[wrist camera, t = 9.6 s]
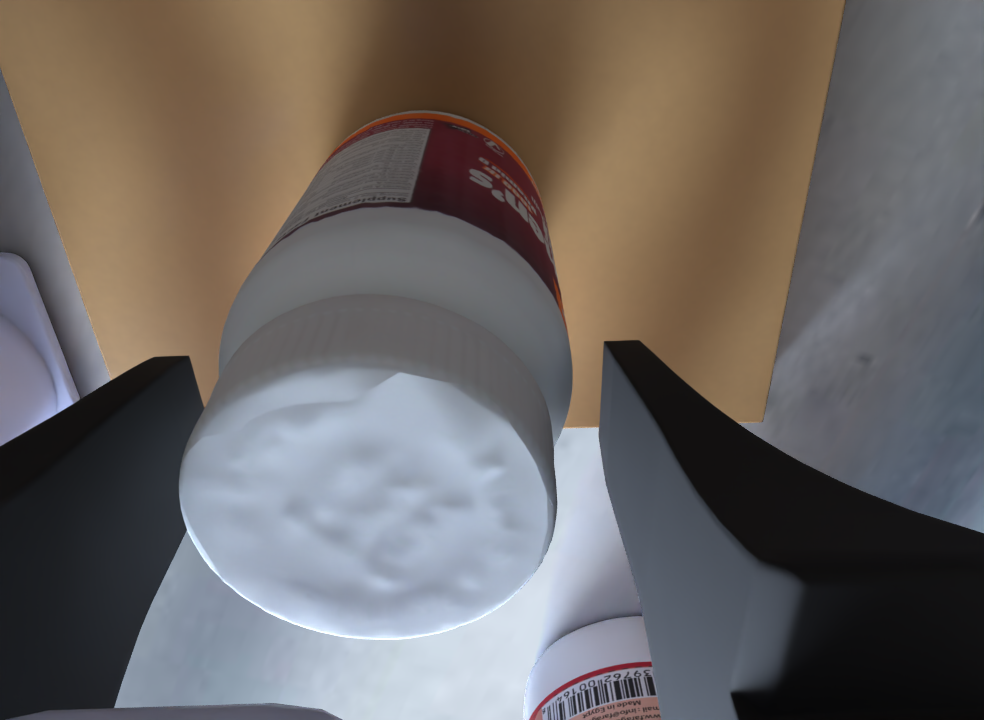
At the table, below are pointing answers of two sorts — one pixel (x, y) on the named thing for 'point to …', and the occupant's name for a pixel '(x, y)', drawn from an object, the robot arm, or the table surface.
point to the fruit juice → (595, 675)
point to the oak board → (450, 89)
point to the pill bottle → (389, 392)
